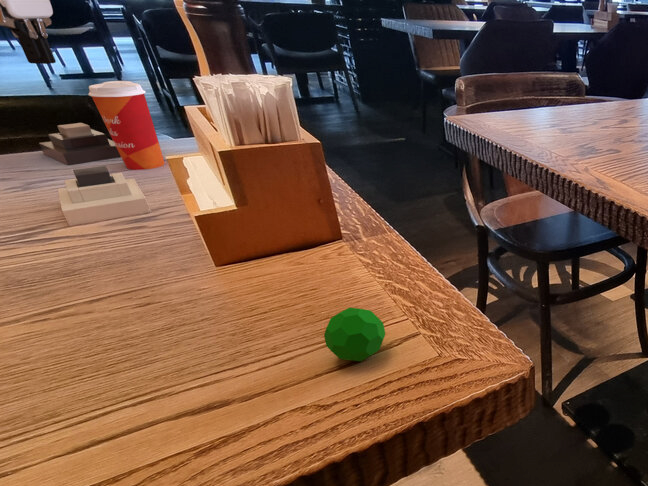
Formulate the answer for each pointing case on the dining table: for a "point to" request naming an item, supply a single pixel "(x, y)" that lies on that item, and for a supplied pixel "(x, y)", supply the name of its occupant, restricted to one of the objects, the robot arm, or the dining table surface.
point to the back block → (80, 148)
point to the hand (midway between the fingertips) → (42, 62)
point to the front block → (101, 200)
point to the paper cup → (129, 123)
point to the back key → (74, 130)
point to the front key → (92, 176)
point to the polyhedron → (354, 334)
